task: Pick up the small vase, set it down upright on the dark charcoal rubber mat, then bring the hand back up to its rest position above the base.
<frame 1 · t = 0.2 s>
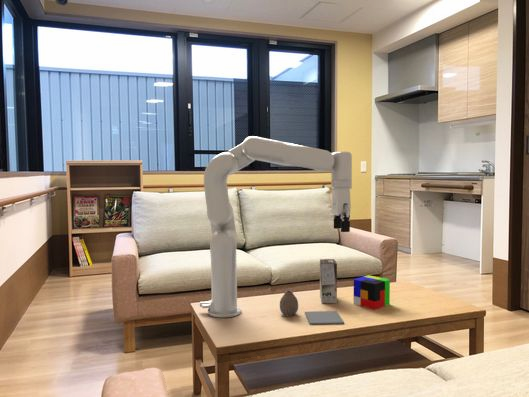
hand: (341, 230, 159), 31 cm above the table, tool pointing down, fingers open, 9 cm apart
puzzle toy: (371, 304, 167), on the table
coffee box: (328, 300, 174), on the table
vase: (289, 315, 156), on the table
mat: (323, 318, 151), on the table
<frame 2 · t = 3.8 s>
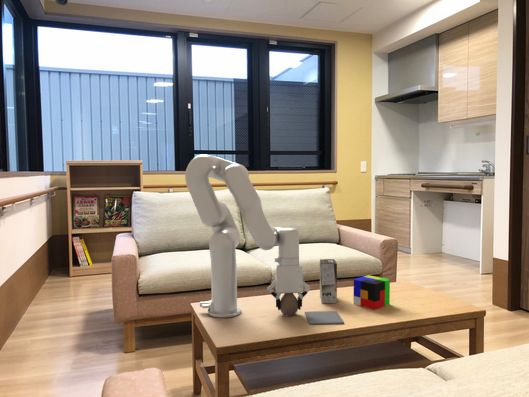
hand: (289, 308, 156), 2 cm above the table, tool pointing down, fingers closed on vase, 6 cm apart
vase: (289, 315, 156), on the table, touching gripper
everything else where it was.
when the fingers open (4 cm above the table, at t = 9.5 s): vase drops 1 cm, resting on mat.
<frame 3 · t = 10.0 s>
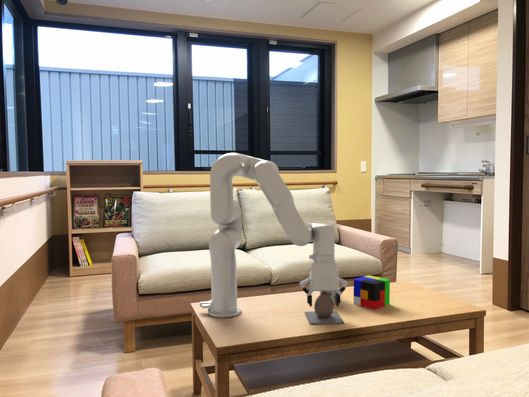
hand: (323, 305, 151), 5 cm above the table, tool pointing down, fingers open, 9 cm apart
vase: (323, 316, 151), point 1 cm above the table, touching mat
everything else where it was.
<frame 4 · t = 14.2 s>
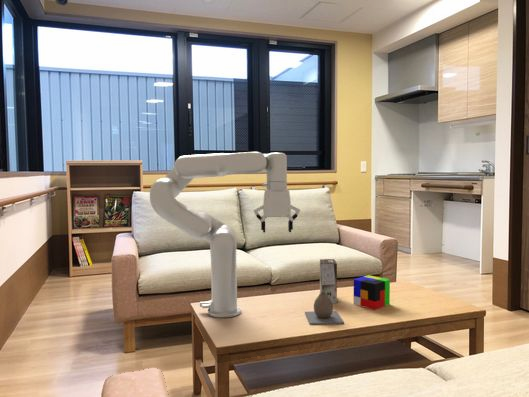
hand: (276, 231, 158), 30 cm above the table, tool pointing down, fingers open, 9 cm apart
nothing on the table moved.
at the end: vase inside the target area on the mat (0.1 cm from its centre), point 0.4 cm above the mat's base; vase tilted 0°; the gripper is holding nothing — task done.
